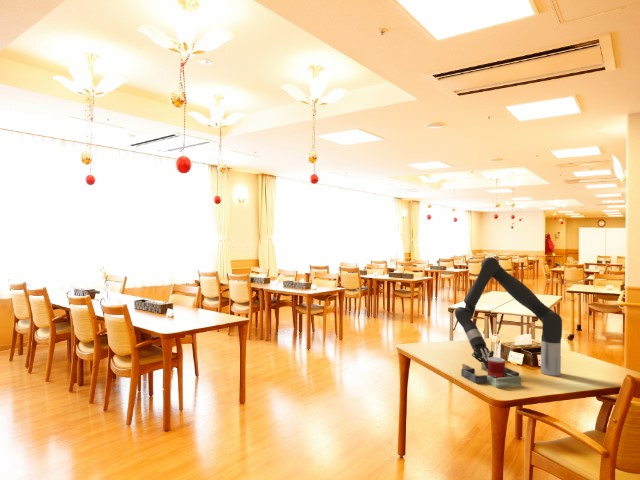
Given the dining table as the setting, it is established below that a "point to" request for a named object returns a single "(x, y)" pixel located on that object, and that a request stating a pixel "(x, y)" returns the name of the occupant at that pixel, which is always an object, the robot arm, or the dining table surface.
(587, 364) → the dining table surface
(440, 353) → the dining table surface
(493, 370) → the canned food
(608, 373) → the dining table surface
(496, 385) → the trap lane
